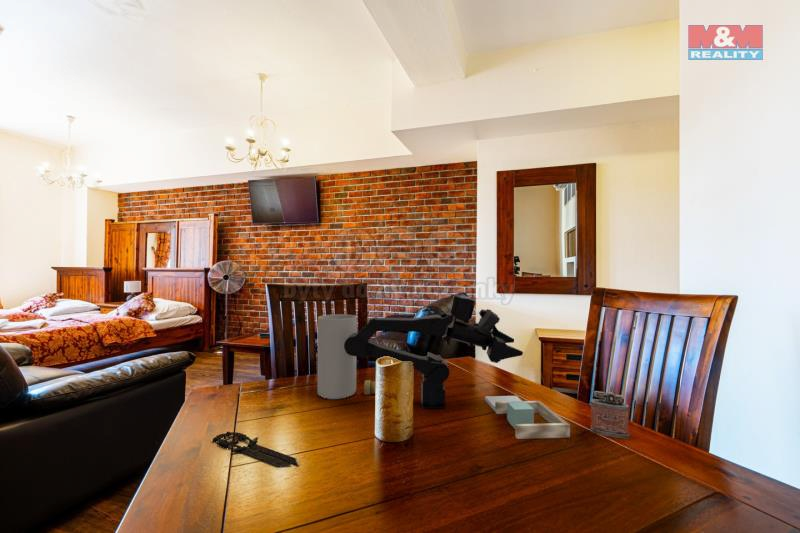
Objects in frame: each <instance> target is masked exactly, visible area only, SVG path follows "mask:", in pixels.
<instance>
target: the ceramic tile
mask: <svg viewBox="0 0 800 533" xmlns="http://www.w3.org/2000/svg"><path fill="white" fill-rule="evenodd" d="M484 398H485V399H484V401H485V402H486V403H487V405H489V407H490V408H491V409H492V410H493V411H494V412H495V402H507V401H523V400H522V399H521V398H520V397H519V396H518V395H495V396H494V395H492V396H491V395H488V396H487V395H486V396H484Z"/></svg>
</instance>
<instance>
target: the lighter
mask: <svg viewBox="0 0 800 533" xmlns="http://www.w3.org/2000/svg"><path fill="white" fill-rule="evenodd" d="M593 397H595V398H591V399H590V405H591V406H590V412H591V417H590V418H591V425H590V431H591V432H592V433H595V434H598V435H601V436H608V437H610V438H611V437H613V438H619V439H629V438H630V433H629V410H630V406H629V404H627V403H625V402H624V403H623V401H624V396H623V395H621V394H616V393H614V392H612V391H608V392H605V391H598V390H594V391H593ZM597 398H599V399H597Z"/></svg>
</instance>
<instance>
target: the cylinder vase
mask: <svg viewBox="0 0 800 533" xmlns="http://www.w3.org/2000/svg"><path fill="white" fill-rule="evenodd" d="M357 320H358V317H357V315H353V314H338V313H337V314H325V315H320V316H318V318H317V395H318V396H319V397H320V396H321V398H322V397H323V399H326V398H327V399H326V400H341V399H342V398H343V399H346V397H347V398H349V396H350V397H351V396H353V395H354V394H356V392H357V356H351V355H348V354H347V353H346V351H345V349H344V343H345V341H346V340H347V339H348V338H349V336H350V335H351V334H353V333H358V332H357V330H358V329H357V328H358V327H357V323H358V322H357Z"/></svg>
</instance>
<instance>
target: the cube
mask: <svg viewBox="0 0 800 533" xmlns="http://www.w3.org/2000/svg"><path fill="white" fill-rule="evenodd" d="M525 401H526V400H522V402H507V414H506V420H507V422H508V423H509V425H511V427H513V429H515V424H535V413H534V409H533V408H532V407H531V406H530V405H529V404H528V403H526V402H525Z"/></svg>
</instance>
